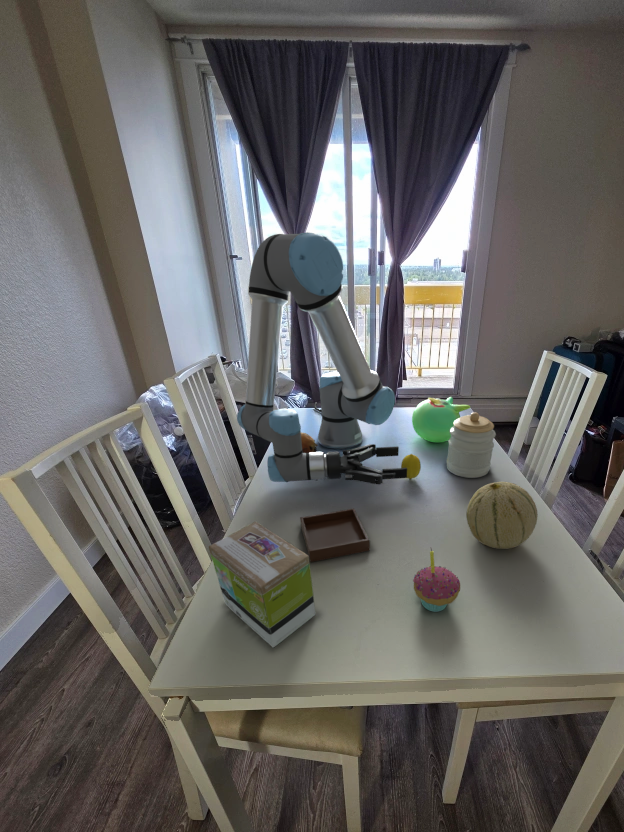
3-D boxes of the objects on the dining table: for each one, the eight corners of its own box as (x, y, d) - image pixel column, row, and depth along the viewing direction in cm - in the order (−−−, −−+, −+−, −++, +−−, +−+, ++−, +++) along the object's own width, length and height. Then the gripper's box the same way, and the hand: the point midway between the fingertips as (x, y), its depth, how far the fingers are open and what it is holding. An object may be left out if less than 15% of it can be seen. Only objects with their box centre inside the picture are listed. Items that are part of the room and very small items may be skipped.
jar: (498, 473, 120) (509, 416, 111) (462, 482, 116) (470, 424, 106) (471, 455, 130) (479, 402, 121) (437, 463, 126) (442, 408, 116)
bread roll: (305, 453, 140) (295, 431, 138) (325, 447, 134) (315, 424, 132) (285, 464, 133) (274, 442, 131) (306, 459, 127) (295, 435, 124)
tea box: (223, 606, 76) (205, 544, 68) (267, 578, 82) (256, 518, 75) (273, 651, 68) (259, 585, 60) (317, 615, 74) (310, 552, 66)
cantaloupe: (541, 559, 87) (558, 500, 79) (476, 566, 86) (486, 506, 78) (512, 520, 100) (524, 465, 92) (454, 525, 98) (461, 470, 90)
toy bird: (404, 432, 147) (406, 391, 139) (447, 427, 151) (451, 388, 143) (422, 452, 132) (425, 409, 125) (469, 446, 136) (475, 404, 128)
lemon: (418, 484, 115) (420, 459, 110) (399, 482, 116) (400, 457, 111) (420, 475, 119) (422, 450, 115) (402, 473, 120) (403, 449, 116)
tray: (301, 527, 97) (300, 517, 96) (354, 518, 101) (354, 508, 99) (310, 562, 87) (309, 551, 85) (369, 550, 90) (369, 539, 88)
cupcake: (402, 601, 77) (405, 552, 71) (431, 580, 82) (435, 532, 76) (439, 627, 72) (445, 577, 65) (466, 602, 77) (475, 553, 70)
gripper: (326, 458, 124) (394, 454, 126) (328, 501, 103) (410, 495, 105) (324, 435, 120) (395, 431, 122) (326, 475, 99) (411, 470, 101)
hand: (402, 461), depth 114 cm, fingers open, 13 cm apart
